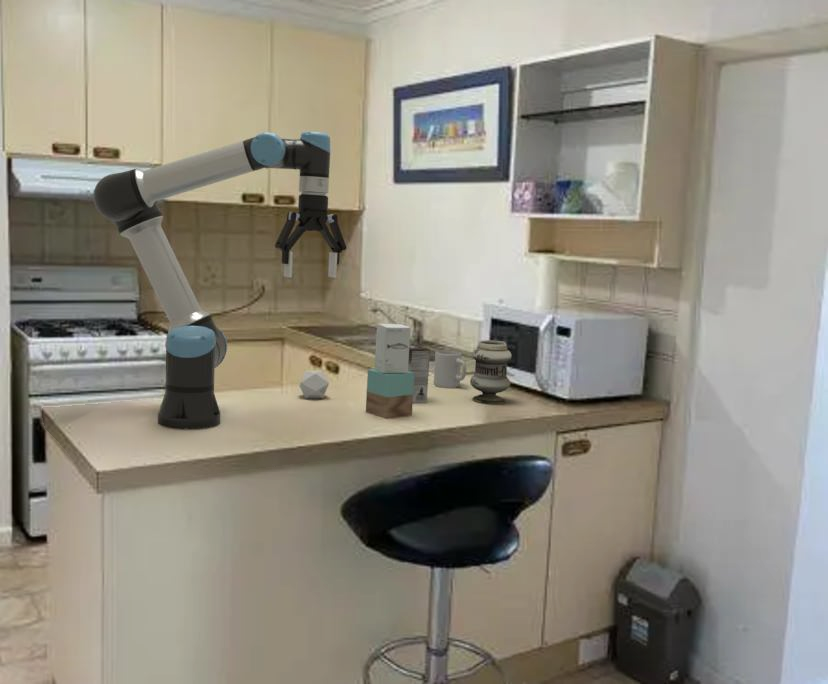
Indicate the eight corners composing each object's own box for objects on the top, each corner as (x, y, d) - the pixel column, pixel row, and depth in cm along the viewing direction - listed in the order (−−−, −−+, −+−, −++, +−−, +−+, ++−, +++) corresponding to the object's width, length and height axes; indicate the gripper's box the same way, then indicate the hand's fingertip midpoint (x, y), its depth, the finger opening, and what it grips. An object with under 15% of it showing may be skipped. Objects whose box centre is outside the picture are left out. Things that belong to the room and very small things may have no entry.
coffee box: (396, 396, 265) (399, 344, 263) (416, 396, 267) (419, 344, 265) (407, 403, 257) (410, 348, 254) (428, 402, 259) (431, 348, 257)
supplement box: (382, 373, 235) (385, 327, 233) (373, 368, 242) (376, 323, 240) (408, 373, 238) (411, 327, 236) (399, 368, 245) (401, 323, 243)
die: (319, 404, 252) (337, 376, 255) (293, 388, 251) (311, 360, 254) (316, 408, 260) (333, 381, 263) (291, 392, 259) (309, 365, 262)
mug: (428, 384, 287) (429, 351, 286) (445, 382, 293) (447, 349, 292) (455, 391, 279) (457, 356, 277) (473, 388, 285) (475, 355, 284)
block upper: (387, 397, 235) (388, 375, 234) (366, 391, 241) (367, 369, 241) (413, 394, 241) (414, 372, 240) (392, 388, 247) (393, 367, 246)
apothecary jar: (465, 402, 262) (469, 342, 260) (472, 395, 274) (476, 337, 272) (506, 406, 260) (510, 346, 257) (511, 399, 271) (515, 341, 269)
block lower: (386, 419, 235) (387, 397, 235) (365, 412, 242) (366, 391, 241) (411, 415, 241) (413, 394, 241) (391, 409, 248) (392, 388, 247)
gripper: (278, 191, 215) (275, 278, 218) (361, 197, 231) (357, 278, 234) (263, 191, 220) (260, 275, 223) (345, 196, 236) (341, 276, 239)
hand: (310, 277), depth 228 cm, fingers open, 13 cm apart
